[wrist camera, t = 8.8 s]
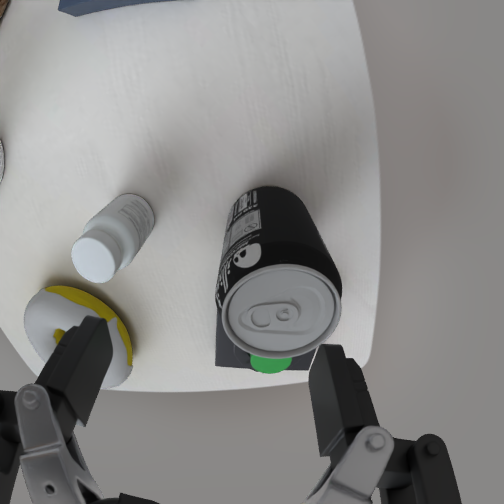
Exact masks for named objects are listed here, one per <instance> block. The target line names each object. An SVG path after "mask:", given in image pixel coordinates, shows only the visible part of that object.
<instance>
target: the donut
mask: <svg viewBox="0 0 504 504" xmlns="http://www.w3.org/2000/svg"><path fill="white" fill-rule="evenodd" d="M86 315H90V316H95V317H100V318H105V319H106V321H107V324H108V328H109V332H110V337H111V341H112V345H113V357H112V361H111V364H110V366H109V368H108V371H107V373H106V375H105V378H104V380H103V383H102V385H101V388H102V389H107V388H112V387H116V386H119V385H121V384H122V383H123V382H124V381H125V380H126V379H127V378H128V376H129V375H130V374H131V371H132V368H133V365H132V356H133V354H132V345H131V341H130V338H129V335H128V332H127V330H126V328H125V326H124V324H123V323H122V321H121V320H120V318H119V317H118V316H117V315H116V314H115V312H114V311H113V310H112V309H110V308H109V307H108V306H107V305H106V304H104V303H103V302H102V301H100V300H99V299H97V298H96V297H94V296H92V295H90V294H89V293H87V292H84V291H82V290H79V289H77V288H73V287H69V286H51V287H47V288H43V289H41V290H40V291H39V292H38V293H37V294H36V295H34V296H33V297H32V299H31V300H30V301H29V303H28V305H27V307H26V310H25V314H24V328H25V331H26V334H27V337H28V339H29V341H30V343H31V345H32V346H33V348H34V349H35V351H36V352H37V354H38V355H39V357H40V358H41V359H42V360H43V361H44V362H45V363H47V361H48V359H49V357H50V356H51V354H52V353H53V352H54V349H55V347H56V346H57V345H58V343H59V341H60V339H61V338H62V336H63V334H64V333H65V331H68V330H69V329H70V328H72V327H73V326H79V325H80V324H81V322H82V320H83V319H84V317H85V316H86Z"/></svg>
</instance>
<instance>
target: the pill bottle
mask: <svg viewBox="0 0 504 504" xmlns="http://www.w3.org/2000/svg"><path fill="white" fill-rule="evenodd" d="M153 226H154V215H153V212H152V209H151V207H150V206H149V204H148V203H147V202H146V201H145V200H144V199H142V198H141V197H139V196H137V195H133V194H124V195H121V196H119V197H117V198H115V199H114V200H113V201H111V202H110V203H109V204H108V205H107V206H106V207H105V208H103V209H102V210H101V211H100V212H98V213H97V214H96V215H95V216H94V217H93V218H91V219H90V220H89V222H88V223H87V224H86V226H85V228H84V231H83V235H82V236H81V237H80V238H79V239H78V240H77V241H76V242H75V243H74V245H73V247H72V254H71V255H72V261H73V264H74V266H75V268H76V270H77V271H78V272H79V273H80V274H81V275H82V276H83V277H84V278H85V279H87V280H89V281H91V282H94V283H104V282H107V281H109V280H110V279H111V278H112V277H113V276H114V274H115V273H116V272H117V270H120V269H123V268H125V267H126V266H128V265H129V264H130V263H131V261H132V260H133V259H134V257H135V256H136V254H137V253H138V251H139V250H140V248H141V247H142V245H143V244H144V242H145V241H146V239H147V238H148V236H149V235H150V233H151V231H152V229H153Z"/></svg>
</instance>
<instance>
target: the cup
mask: <svg viewBox="0 0 504 504" xmlns="http://www.w3.org/2000/svg"><path fill="white" fill-rule="evenodd" d="M3 170H4V153H3V147H2V144H1V140H0V182H1V179H2V176H3Z"/></svg>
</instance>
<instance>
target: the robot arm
mask: <svg viewBox="0 0 504 504" xmlns="http://www.w3.org/2000/svg"><path fill="white" fill-rule="evenodd" d="M112 357H113V345H112V341H111V337H110V332H109V328H108V324H107V321H106V319H105V318H100V317H95V316H90V315H86V316H85V317H84V319H83V320H82V322H81V324H80V325H79V326H73V327H72V328H70V329H69V330H68V331H66V332H65V333H64V334H63V336H62V338H61V339H60V341H59V343H58V345H57V346H56V347H55V349H54V352H53V353H52V354H51V356H50V357H49V359H48V361H47V363H46V364H45V366H44V368H43V370H42V371H41V373H40V375H39V377H38V379H37V380H36V382H35V383H34V384H27V385H25V386H23V387H22V388H20V390H18V392H14V391H1V390H0V504H10V500H11V495H12V491H13V487H14V484H15V480H16V476H17V473H18V469H19V466H20V465H21V469H22V472H23V476H24V479H25V483H26V486H27V489H28V492H29V495H30V498H31V501H32V503H33V504H159V503H157V502H154V501H152V500H148V499H143V498H139V497H135V496H130V495H127V494H123V493H120V496H119V498H107V499H105V498H104V496H103V494H102V492H101V490H100V489H99V487H98V485H97V484H96V482H95V481H94V479H93V478H92V476H91V474H90V472H89V470H88V468H87V466H86V463H85V461H84V458H83V456H82V453H81V451H80V448H79V445H78V443H77V440H76V437H75V434H74V432H73V430H74V427H75V425H76V424H77V425H80V426H83V427H86V424H87V421H88V419H89V416H90V413H91V410H92V408H93V405H94V403H95V400H96V398H97V395H98V393H99V390H100V388H101V385H102V383H103V380H104V378H105V375H106V373H107V371H108V368H109V366H110V364H111V361H112ZM364 380H365V379H364V376H363V373H362V370H361V368H360V366H359V365H358V364H357V363H356V362H355V360H354V359H353V358H346V356H345V353H344V350H343V347H342V346H341V345H336V344H321V345H320V346H319V349H318V351H317V354H316V356H315V359H314V361H313V364H312V366H311V369H310V372H309V389H310V395H311V401H312V407H313V412H314V420H315V425H316V432H317V439H318V445H319V452H320V457H322V456H330V460H331V464H330V465H329V466H328V468H327V469H326V471H325V472H324V474H323V475H322V477H321V478H320V479H319V481H318V482H317V484H316V485H315V487H314V488H313V489H312V491H311V492H310V493H309V495H308V496H307V497H306V499H305V500H304V501H303V502H302V503H301V504H372V503H373V502H372V500H371V496H372V494H373V492H374V490H375V487H378V488H379V490H380V497H381V504H462V503H461V499H460V494H459V490H458V486H457V482H456V479H455V475H454V471H453V468H452V464H451V461H450V458H449V454H448V451H447V448H446V445H445V443H444V441H443V440H442V439H441V438H440V437H438V436H436V435H434V434H425V435H423V436H421V437H420V438H419V439H418V440H417V441H411V440H404V439H397V438H394V437H392V436H391V434H390V433H389V432H388V431H387V430H386V429H384V428H382V427H380V425H379V423H378V420H377V417H376V413H375V410H374V407H373V404H372V401H371V397H370V394H369V392H368V391H367V385H366V382H365V381H364Z"/></svg>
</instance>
